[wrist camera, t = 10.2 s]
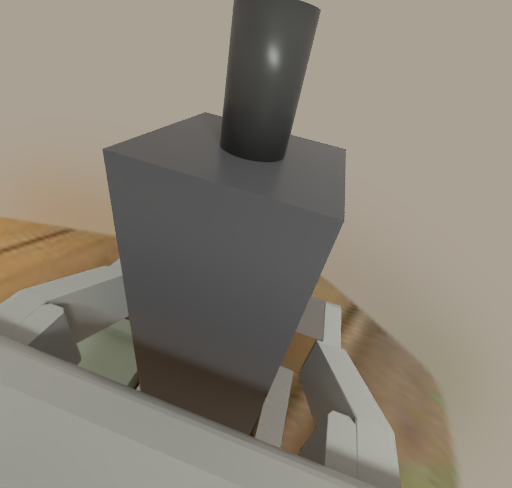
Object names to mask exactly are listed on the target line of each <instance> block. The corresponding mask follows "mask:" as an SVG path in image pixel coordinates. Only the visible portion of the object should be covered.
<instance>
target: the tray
mask: <svg viewBox="0 0 512 488" xmlns="http://www.w3.org/2000/svg"><path fill="white" fill-rule="evenodd" d="M77 346H78V348H79V351H80V354H81V362H80V363H79V364H78V365H77V366H79V367H82V368H84V369H87V370H89V371H92V372H94V373H97V374H99V375H102V376H104V377H107V378H109V379H111V380H114V381H116V382H119V383H121V384H124V385H126V386H129V387H131V388H135V387H136V385H137V383H138V382H139V378H138V371H137V365H136V359H135V352H134V346H133V339H132V333H131V327H130V320H127V319H125V318H124V319H122V320H120V321H118V322H116V323H115V324H113V325H111V326H109V327H107V328H105V329H103V330H101V331H99V332H98V333H96V334H94V335H92V336H90V337H88V338H86V339H84V340H82V341H81V342H79V343H77Z"/></svg>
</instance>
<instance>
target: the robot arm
mask: <svg viewBox="0 0 512 488" xmlns="http://www.w3.org/2000/svg"><path fill="white" fill-rule="evenodd" d="M128 316H129V314H128V308H127V301H126V295H125V288H124V282H123V276H122V269H121V263H120V258H119V259H117V260H116V261H115V262H114V263H113V264H112V265H110V266H109V267H108V266H101V267H98V268H94V269H91V270H87V271H84V272H81V273H77V274H74V275H70V276H67V277H63V278H60V279H56V280H53V281H49V282H46V283H42V284H39V285H35V286H32V287H28V288H25V289H22V290H19V291H18V292H16V293H15V294H13V295H12V296H11V297H9V298H8V299H6V300H5V301H3V302H2V303H0V488H401V484H400V476H399V468H398V460H397V452H396V444H395V436H394V431H393V430H392V428H391V426H390V425H389V423H388V421H387V420H386V418H385V416H384V415H383V413H382V411H381V409H380V408H379V406H378V404H377V403H376V401H375V399H374V398H373V396H372V394H371V393H370V391H369V389H368V387H367V386H366V384H365V382H364V381H363V379H362V377H361V376H360V374H359V372H358V371H357V369H356V367H355V366H354V364H353V362H352V360H351V359H350V357H349V355H348V354H347V352H346V350H344V349H341V307H340V305H336V304H333V303H330V302H327V301H323V300H320V299H317V298H314V297H310V299H309V302H308V304H307V306H306V308H305V311H304V313H303V315H302V317H301V320H300V322H299V324H298V327H297V329H296V331H295V333H294V336H293V338H292V340H291V342H290V345H289V347H288V349H287V352H286V354H285V356H284V358H283V361H282V363H281V365H280V366H282V367H285V368H287V369H290V370H292V371H295V372H297V373H299V377H300V380H301V383H302V386H303V389H304V392H305V395H306V398H307V401H308V404H309V407H310V410H311V413H312V416H313V419H314V422H315V425H316V430H315V431H314V432H313V434H312V435H311V436H310V437H309V438H308V440H307V441H306V442H305V443H304V445H303V446H302V447H301V448H300V456H299V455H296V454H294V453H291V452H289V451H286V450H284V449H282V448H279V447H277V446H274V445H272V444H269V443H267V442H264V441H262V440H259V439H257V438H254V437H252V436H249V435H247V434H245V433H242V432H240V431H237V430H235V429H232V428H230V427H227V426H225V425H222V424H220V423H217V422H215V421H213V420H210V419H208V418H205V417H203V416H200V415H198V414H195V413H193V412H190V411H188V410H185V409H183V408H180V407H178V406H176V405H173V404H171V403H168V402H166V401H163V400H161V399H158V398H156V397H153V396H151V395H148V394H146V393H144V392H141V391H139V390H136V389H134V388H131V387H129V386H126V385H124V384H121V383H119V382H116V381H114V380H111V379H109V378H107V377H104V376H102V375H99V374H97V373H94V372H92V371H89V370H87V369H84V368H82V367H79V366H77V365H78V364H79V363H80V362H81V354H80V351H79V348H78V346H77V343H79V342H81V341H82V340H84V339H86V338H88V337H90V336H92V335H94V334H96V333H98V332H99V331H101V330H103V329H105V328H107V327H109V326H111V325H113V324H115V323H116V322H118V321H120V320H122V319H124V318H126V317H128Z"/></svg>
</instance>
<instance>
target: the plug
mask: <svg viewBox="0 0 512 488" xmlns="http://www.w3.org/2000/svg"><path fill="white" fill-rule="evenodd" d="M320 11H321V10H320V9H319V8H317V7H315V6H313V5H311V4H308V3H306V2H303V1H300V0H234V6H233V16H232V27H231V37H230V47H229V57H228V67H227V68H228V69H227V78H226V88H225V98H224V108H223V117H221V116H217V115H213V114H209V113H206V112H205V113H202V114H199V115H197V116H194V117H191V118H188V119H185V120H183V121H180V122H177V123H174V124H171V125H169V126H166V127H163V128H160V129H157V130H155V131H152V132H149V133H146V134H144V135H141V136H138V137H135V138H132V139H129V140H127V141H124V142H121V143H118V144H115V145H113V146H110V147H107V148H104V149H103V154H104V161H105V166H106V172H107V180H108V186H109V192H110V199H111V205H112V211H113V218H114V225H115V231H116V237H117V244H118V250H119V256H120V263H121V269H122V276H123V282H124V288H125V295H126V301H127V308H128V314H129V320H130V327H131V333H132V339H133V346H134V352H135V359H136V365H137V371H138V378H139V384H140V391H141V392H144V393H146V394H148V395H151V396H153V397H156V398H158V399H161V400H163V401H166V402H168V403H171V404H173V405H176V406H178V407H180V408H183V409H185V410H188V411H190V412H193V413H195V414H198V415H200V416H203V417H205V418H208V419H210V420H213V421H215V422H217V423H220V424H222V425H225V426H227V427H230V428H232V429H235V430H237V431H240V432H242V433H245V434H247V435H249V436H250V433H251V431H252V429H253V427H254V424H255V422H256V420H257V417H258V415H259V413H260V411H261V408H262V406H263V404H264V402H265V399H266V397H267V395H268V392H269V390H270V388H271V386H272V383H273V381H274V379H275V377H276V374H277V372H278V370H279V367H280V365H281V363H282V361H283V358H284V356H285V354H286V352H287V349H288V347H289V345H290V342H291V340H292V338H293V336H294V333H295V331H296V329H297V327H298V324H299V322H300V320H301V317H302V315H303V313H304V311H305V308H306V306H307V304H308V302H309V299H310V297H311V295H312V292H313V290H314V288H315V286H316V283H317V281H318V279H319V277H320V274H321V272H322V270H323V267H324V265H325V263H326V261H327V258H328V256H329V254H330V252H331V249H332V247H333V245H334V242H335V240H336V238H337V235H338V233H339V231H340V229H341V226H342V224H343V222H344V205H345V157H346V152H345V151H346V149H342V148H339V147H335V146H331V145H327V144H323V143H320V142H315V141H312V140H308V139H304V138H301V137H297V136H293V135H290V133H291V129H292V125H293V121H294V117H295V113H296V109H297V105H298V101H299V97H300V92H301V89H302V85H303V80H304V76H305V72H306V68H307V64H308V60H309V56H310V51H311V48H312V44H313V40H314V35H315V31H316V28H317V23H318V19H319V15H320Z"/></svg>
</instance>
